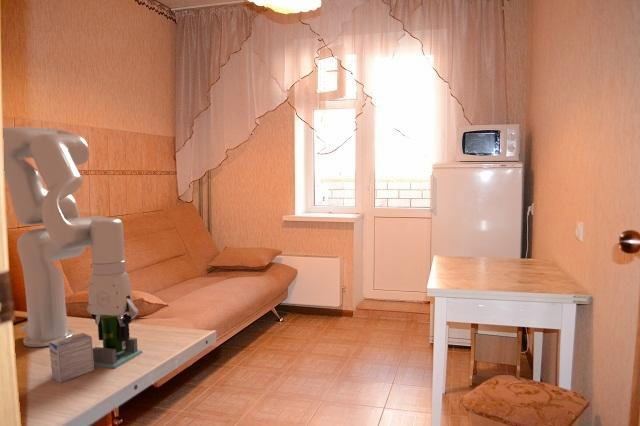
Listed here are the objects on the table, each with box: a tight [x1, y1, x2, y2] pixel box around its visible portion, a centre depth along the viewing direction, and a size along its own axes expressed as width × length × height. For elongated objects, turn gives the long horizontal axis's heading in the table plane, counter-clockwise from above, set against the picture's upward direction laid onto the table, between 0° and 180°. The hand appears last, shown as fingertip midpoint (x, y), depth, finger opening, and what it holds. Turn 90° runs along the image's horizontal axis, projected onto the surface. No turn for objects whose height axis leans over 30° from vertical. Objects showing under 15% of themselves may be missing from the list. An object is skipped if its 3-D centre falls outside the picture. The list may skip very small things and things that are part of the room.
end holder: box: [93, 336, 143, 369], centre depth 123 cm, size 8×10×4 cm
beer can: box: [101, 315, 127, 355], centre depth 122 cm, size 5×5×12 cm
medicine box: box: [48, 332, 95, 384], centre depth 113 cm, size 8×4×9 cm, turn 141°
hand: (114, 338), depth 122 cm, fingers closed on beer can, 5 cm apart
